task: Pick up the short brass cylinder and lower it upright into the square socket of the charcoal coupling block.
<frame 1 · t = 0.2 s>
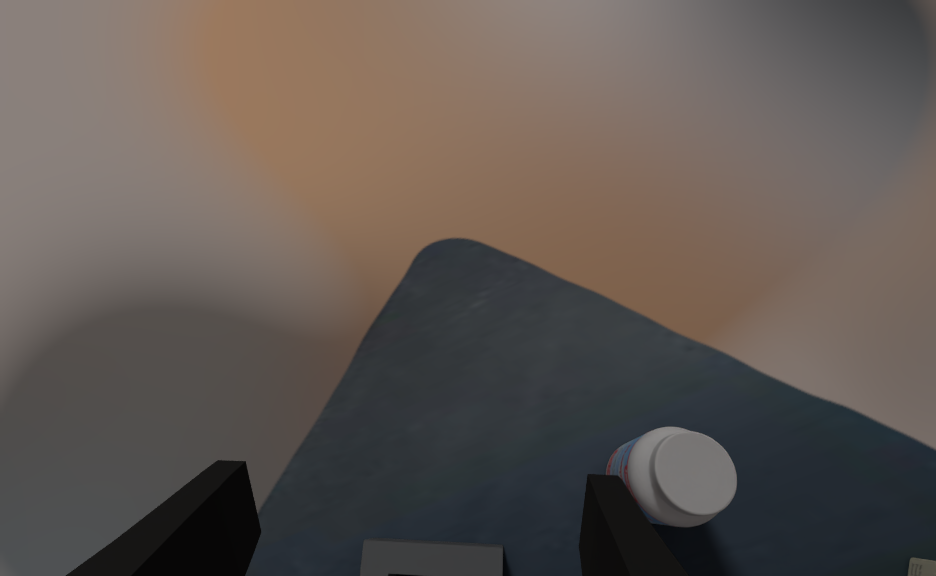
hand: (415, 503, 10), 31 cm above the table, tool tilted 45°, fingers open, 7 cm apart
pill bottle: (643, 481, 39), on the table
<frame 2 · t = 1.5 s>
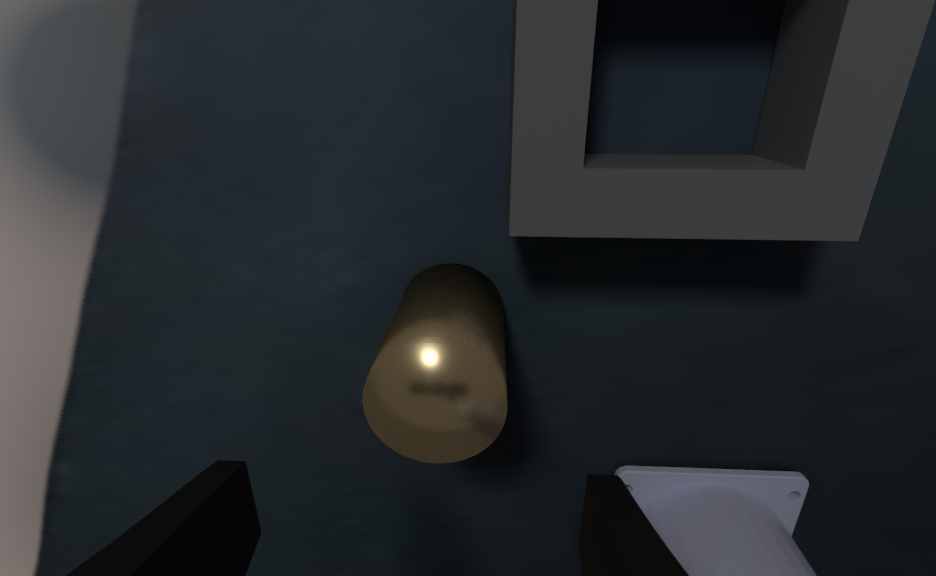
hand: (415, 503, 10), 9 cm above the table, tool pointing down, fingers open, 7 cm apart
brass cylinder: (452, 311, 19), on the table
coupling block: (674, 54, 15), on the table
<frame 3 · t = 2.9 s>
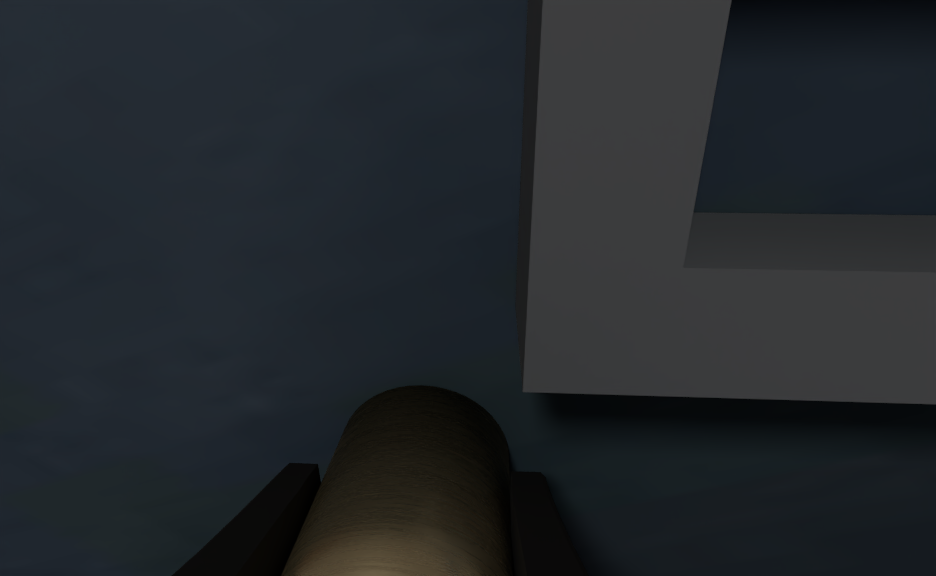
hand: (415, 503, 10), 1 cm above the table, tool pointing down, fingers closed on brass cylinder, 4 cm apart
brass cylinder: (424, 456, 12), on the table, touching gripper
coupling block: (840, 30, 8), on the table
when the fingers open (4 cm above the table, at t = 6.7 s): brass cylinder drops 2 cm, resting in coupling block.
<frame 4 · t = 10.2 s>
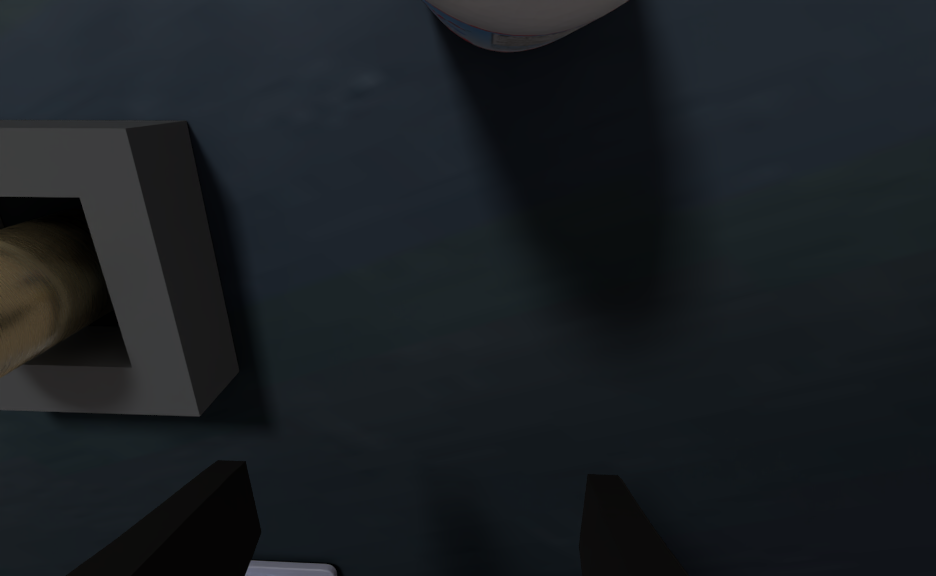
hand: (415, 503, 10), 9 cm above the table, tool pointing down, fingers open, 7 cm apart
brass cylinder: (91, 259, 19), resting in coupling block
coupling block: (89, 256, 19), on the table
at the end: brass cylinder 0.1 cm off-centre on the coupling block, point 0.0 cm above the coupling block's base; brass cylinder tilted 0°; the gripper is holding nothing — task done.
